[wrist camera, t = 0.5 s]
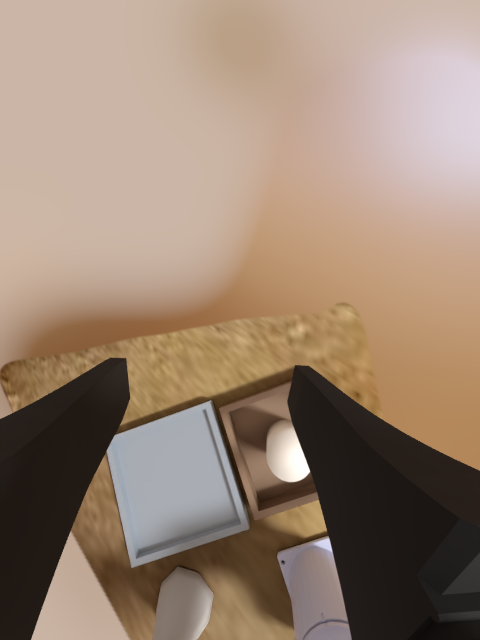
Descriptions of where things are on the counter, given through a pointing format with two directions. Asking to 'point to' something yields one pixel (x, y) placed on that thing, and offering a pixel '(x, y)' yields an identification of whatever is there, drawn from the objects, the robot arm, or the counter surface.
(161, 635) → the flask
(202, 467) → the slate tray
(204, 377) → the counter surface
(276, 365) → the counter surface
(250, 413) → the brown square tray
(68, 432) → the robot arm
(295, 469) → the cream cylinder
